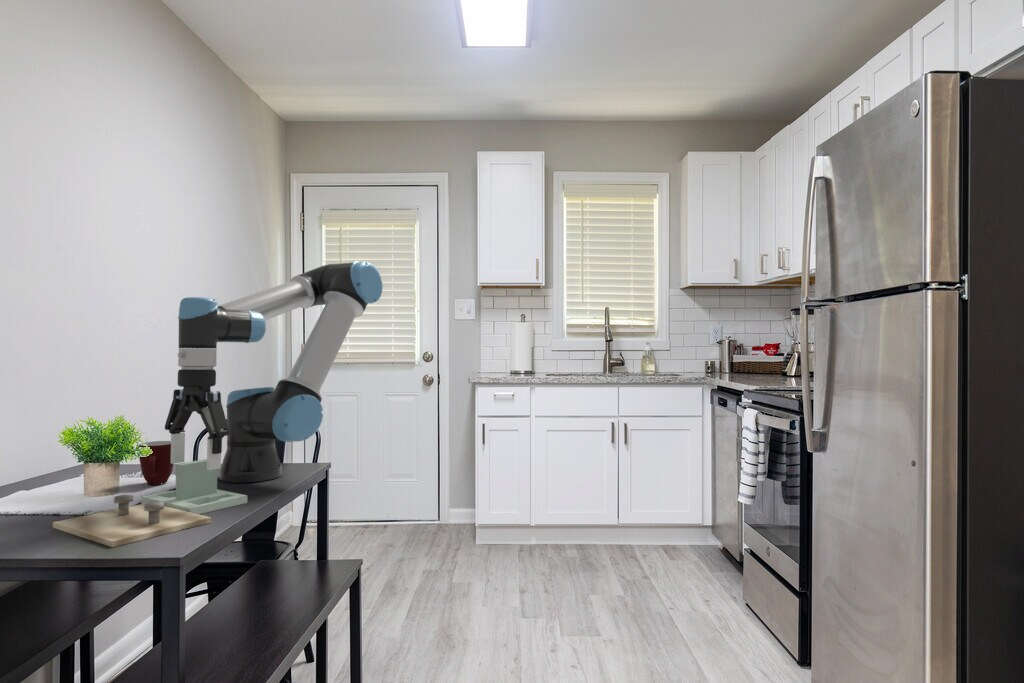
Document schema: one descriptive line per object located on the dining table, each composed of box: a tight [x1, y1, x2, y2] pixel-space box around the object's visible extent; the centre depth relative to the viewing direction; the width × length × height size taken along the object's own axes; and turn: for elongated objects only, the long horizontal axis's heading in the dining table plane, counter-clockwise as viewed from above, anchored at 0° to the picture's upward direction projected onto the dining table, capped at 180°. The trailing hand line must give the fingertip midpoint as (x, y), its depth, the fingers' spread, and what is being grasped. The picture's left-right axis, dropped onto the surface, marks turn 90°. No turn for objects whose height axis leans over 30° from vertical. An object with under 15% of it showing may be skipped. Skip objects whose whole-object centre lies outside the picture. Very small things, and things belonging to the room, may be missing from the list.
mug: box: [138, 440, 174, 485], centre depth 157 cm, size 10×8×10 cm
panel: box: [140, 458, 248, 515], centre depth 139 cm, size 13×18×9 cm
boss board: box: [52, 494, 212, 548], centre depth 122 cm, size 18×22×5 cm
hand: (195, 466), depth 139 cm, fingers open, 13 cm apart
